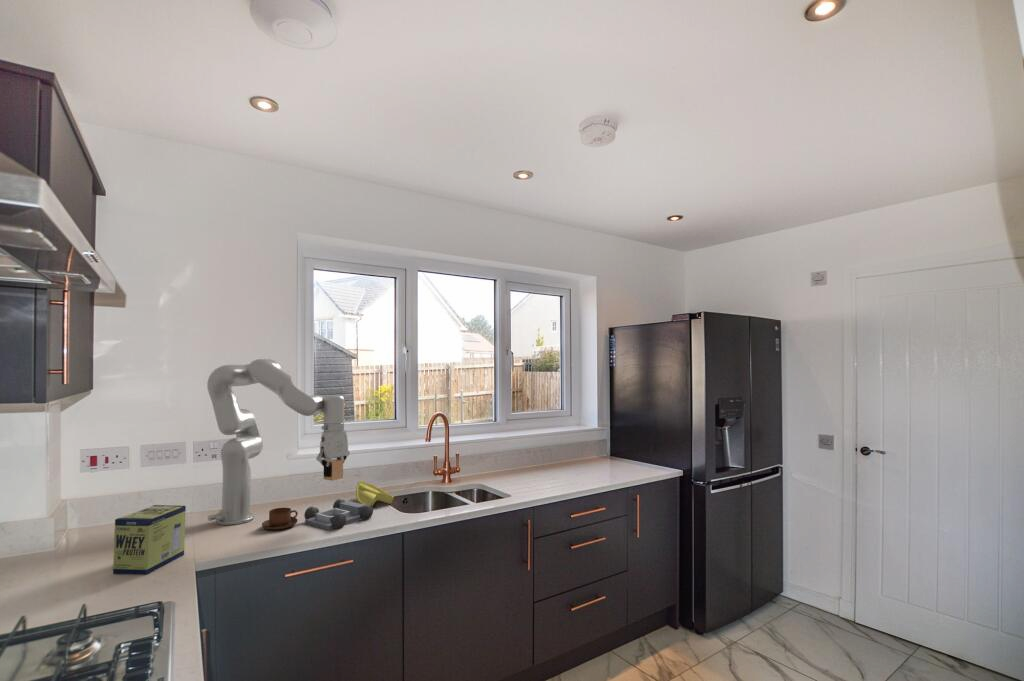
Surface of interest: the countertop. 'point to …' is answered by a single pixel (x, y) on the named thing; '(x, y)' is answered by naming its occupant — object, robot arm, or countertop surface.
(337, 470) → the wooden block
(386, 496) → the plastic component
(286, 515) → the cup and saucer
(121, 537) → the protein box
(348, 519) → the chassis
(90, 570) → the countertop surface
